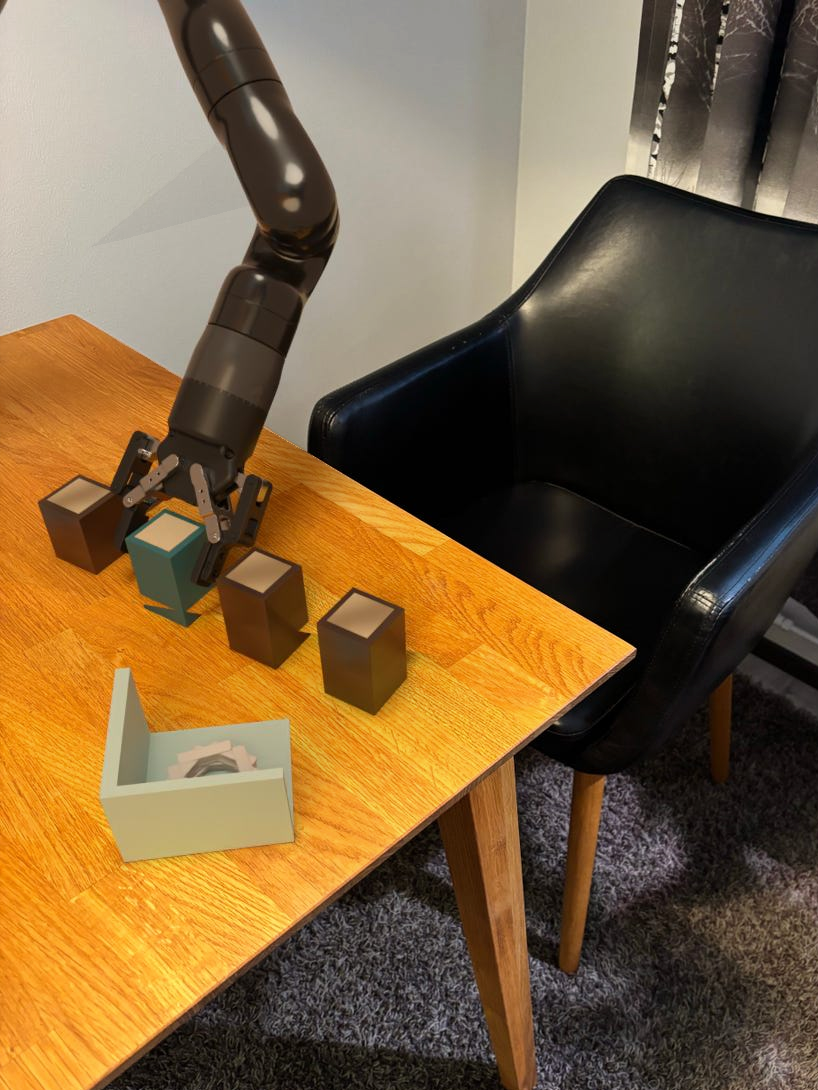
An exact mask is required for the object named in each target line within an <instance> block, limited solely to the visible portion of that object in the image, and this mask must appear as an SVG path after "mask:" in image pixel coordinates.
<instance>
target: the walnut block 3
mask: <svg viewBox="0 0 818 1090" xmlns="http://www.w3.org/2000/svg"><path fill="white" fill-rule="evenodd" d="M315 624H316V633H317V640H318V649H319V656H320V658H319V659H320V665H321V674H322V682H323V691H324V694H327V695H329V696H331V697H334V698H335V699H337V700H340V701H342V702H344V703H346V704H349V705H350V706H353V707H355V708H357V709H360V710H361V711H363V712H366V713H368V714H370V715H372V716H375V715H376V714H378V712H379V711H380V710H381V708H382V707H383V706H384V705H385V704H386V703H387V702H388V700H389V699H390V698H391V697H392V696H393V695H394V694H395V692H396V691H397V690H398V689H399V688H400V687H401V685H402V684H403V683H404V682H405V681H406V680H407V678H408V665H407V663H408V662H407V639H406V637H407V636H406V633H407V632H406V610H405V608H404V607H402V606H400V605H398V604H395V603H392V602H391V601H388V600H385V599H383V598H380V597H378V596H376V595H373V594H371V593H368V592H366V591H364V590H362V589H358V588H356V587H354V586H352V587H351V589H349V590H348V591H347V592H346V593H345V594H344V595H343V596H342V597H341V598H340V599H339V600H338V601H337V602H335V604H334V605H333V606H331V608H330V609H329V610H328V611H326V613H325V614H324V615H323V616H321V618H320V619H318V621H317V622H316V623H315Z"/></svg>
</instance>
